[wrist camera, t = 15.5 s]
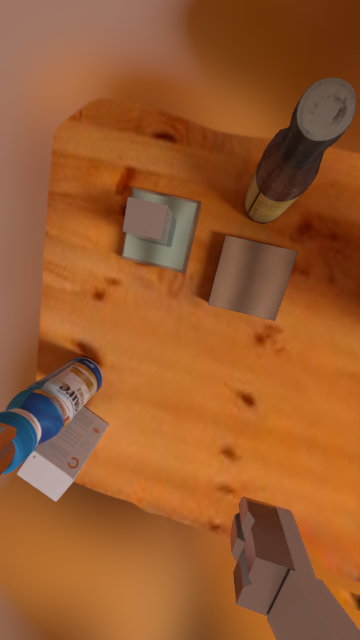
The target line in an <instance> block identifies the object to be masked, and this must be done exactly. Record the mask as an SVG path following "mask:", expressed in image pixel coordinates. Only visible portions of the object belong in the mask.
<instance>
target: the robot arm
mask: <svg viewBox="0 0 360 640" xmlns="http://www.w3.org/2000/svg"><path fill="white" fill-rule="evenodd" d="M15 437H16V428H14V427H12V426H9V425H6V424H3V423H0V475H1V474H2V473H3V472H4V471H5V470H6V469H7V467H8V466H9V464H10V463H11V461H12V460H13V457H14V454H15V445H14V443H13V441H12V440H13V439H14V438H15ZM239 511H240V512H239V513H237V514H236V515H235V516H234V519H233V522H232V528H231V552H232V554H233V556H234V558H235V560H236V562H237V563H236V566H235V569H234V571H233V575H234V585H235V597H236V604H237V605H240V606H242V607H245V608H248V609H250V610H252V611H255V612H258V613H260V614H263V615H266V616H268V617H267V620H268V622H269V624H270V626H271V629H272V631H273V633H274V635H275V637H276V639H277V640H360V630H359V629H358V627H357V626H356V625H355V623H354V622H353V621H352V620H351V618H350V617H349V616H348V614H347V613H346V612H345V610H344V609H343V608H342V606H341V605H340V604H339V602H338V601H337V600H336V598H335V597H334V596H333V594H332V593H331V592H330V590H329V589H328V588H327V586H326V585H325V584H324V582H323V581H322V580H320V579H317V578H316V576H315V574H314V571H313V568H312V565H311V563H310V560H309V557H308V554H307V552H306V549H305V546H304V543H303V541H302V538H301V535H300V532H299V530H298V527H297V524H296V521H295V519H294V516H293V514H292V512H291V511H290V510H287V509H284V508H281V507H277V506H273V505H271V504H268V503H264V502H261V501H257V500H254V499H251V498H247V497H244V496H243V497H242V498H241V500H240V503H239Z"/></svg>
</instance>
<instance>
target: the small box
mask: <svg viewBox="0 0 360 640" xmlns="http://www.w3.org/2000/svg"><path fill="white" fill-rule="evenodd" d="M108 426H109V424H108V423H106V422H105V421H103V420H102V419H101V418H99V417H98V416H97V415H95V414H94V413H92V412H91V411H90V410H88V409H87V408H86V407H84V406H83V407H82V408H81V409H80V410H79V411H78V412H77V413H76V414H75V415H74V417H73V419H72V420H71V421H70V422H69V423H68V424H67V425H66V426H65V427H63V428H61V430H60V432H59V433H58V434H57V435H56V436H54V437H53V438H51V439H50V440H48V441H46V442H44V443H41V444H38V445H37V446H36V448H35V449H34V451H33V452H32V453H31V454H30V455H29V457H28V458H27V460H26V461H25V463H24V464H23V466H22V467H21V469H20V470H19V472H18V473H17V475H19V476H20V477H22V478H23V479H24V480H26V481H27V482H29V483H30V484H32V485H33V486H34V487H36V488H37V489H39V490H40V491H41V492H43V493H44V494H46V495H47V496H48V497H50V498H51V499H53V500H54V501H55V502H56V501H57V500H58V499H59V498H60V497H61V495H62V494H63V493H64V492H65V491H66V489H67V488H68V487H69V486H70V485H71V483H72V482H73V481H74V480H75V478H76V476H77V475H78V473H79V472H80V470H81V468H82V467H83V465H84V464H85V462H86V461H87V459H88V457H89V456H90V454H91V453H92V451H93V450H94V448H95V447H96V445H97V443H98V442H99V440H100V439H101V437H102V436H103V434H104V432H105V431H106V429H107V428H108Z"/></svg>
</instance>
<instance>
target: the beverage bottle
mask: <svg viewBox="0 0 360 640" xmlns="http://www.w3.org/2000/svg"><path fill="white" fill-rule="evenodd" d="M102 382H103V375H102V372H101V369H100V368H99V366H98V365H97V364H96V363H95V362H94V361H92V360H90V359H88V358H82V357H80V358H75V359H73V360H71V361H69V362H68V363H67V364H65V365H64V366H62V367H60V368H59V369H57V370H56V371H54V372H52V373H51V374H49V375H48V376H46V377H44V378H43V379H41V380H38V381H36V382H34V383H33V384H32V385H30V386H29V387H28V388H27V389H26V390H24V391H22V392H20V393H19V394H17V395H16V396H15V397H14V398H13V399H12V401H11V402H10V403H9V405H8V406H7V408H6V410H5V411H3V412H1V413H0V423H3V424H6V425H9V426H12V427H14V428H16V437H15V438H14V439H13V440H12V441H13V443H14V445H15V454H14V457H13V460H12V461H11V463H10V464H9V466H8V467H7V469H6V470H5V471H4V472H3V473H2V474H6V473H9V472H11V471H13V470H14V469H16V468H17V467H18V466H20V465H21V464H22V462H24V460H25V459H26V458H27V457H28V456H29V455H30V454H31V453H32V452H33V451H34V449H35V448H36V446H37V445H38V444H41V443H44V442H46V441H48V440H50V439H51V438H53V437H54V436H56V435H57V434H58V433H59V432H60V430H61V428H63V427H65V426H66V425H67V424H68V423H69V422H70V421H71V420H72V419H73V417H74V415H75V414H76V413H77V412H78V411H79V410H80V409H81V408H82V407H83V406H84V405H85V403H86V402H87V401H88V400H89V399H90V398H91V397H92V396H93V395H94V394H95V393H96V392H97V391H98V390H99V389H100V387H101V385H102Z"/></svg>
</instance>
